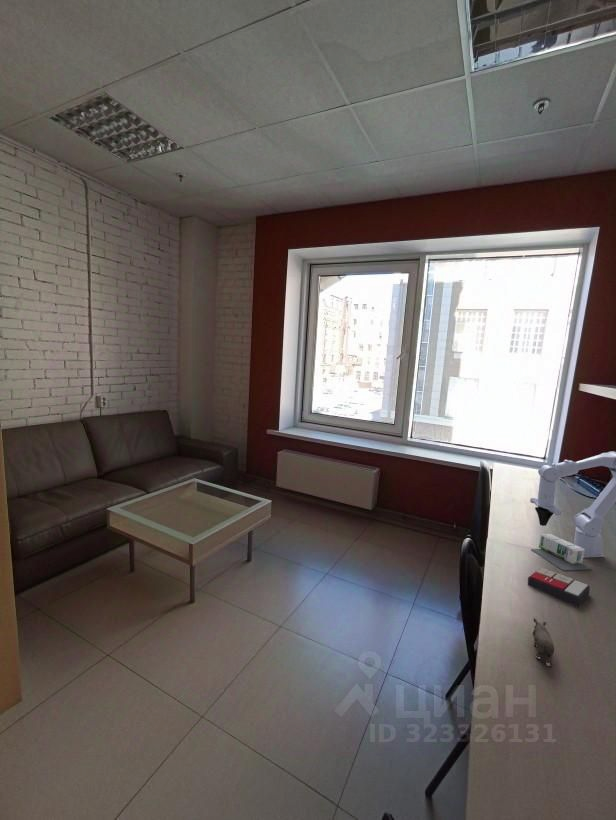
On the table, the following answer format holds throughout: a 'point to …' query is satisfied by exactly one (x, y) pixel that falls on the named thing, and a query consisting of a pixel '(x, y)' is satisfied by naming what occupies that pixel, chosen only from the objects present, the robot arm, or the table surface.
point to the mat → (560, 561)
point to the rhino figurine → (543, 640)
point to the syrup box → (561, 548)
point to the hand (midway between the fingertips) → (543, 525)
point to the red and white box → (559, 586)
